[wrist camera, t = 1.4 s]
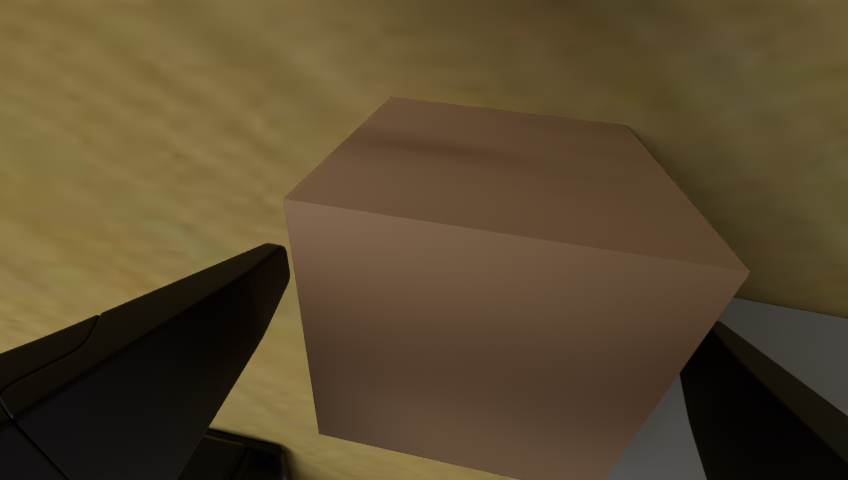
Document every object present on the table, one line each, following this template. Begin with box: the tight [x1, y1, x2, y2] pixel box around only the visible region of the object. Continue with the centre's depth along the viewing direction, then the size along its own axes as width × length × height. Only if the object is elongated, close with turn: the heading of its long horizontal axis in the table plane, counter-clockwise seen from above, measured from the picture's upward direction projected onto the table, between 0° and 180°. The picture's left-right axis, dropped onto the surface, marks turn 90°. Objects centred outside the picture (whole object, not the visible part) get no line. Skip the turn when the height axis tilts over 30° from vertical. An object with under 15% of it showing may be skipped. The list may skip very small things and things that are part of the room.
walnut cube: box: [283, 97, 751, 480], centre depth 9 cm, size 6×6×6 cm
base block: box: [604, 297, 848, 480], centre depth 12 cm, size 9×9×4 cm
